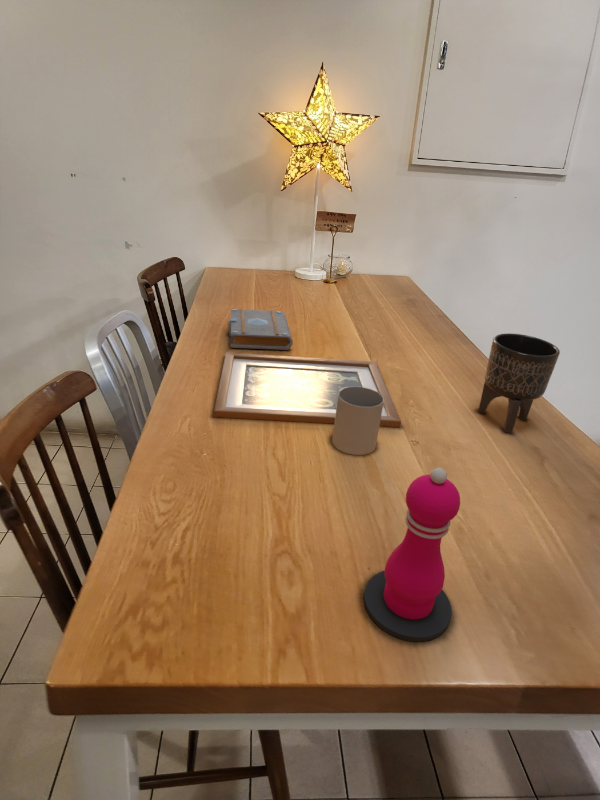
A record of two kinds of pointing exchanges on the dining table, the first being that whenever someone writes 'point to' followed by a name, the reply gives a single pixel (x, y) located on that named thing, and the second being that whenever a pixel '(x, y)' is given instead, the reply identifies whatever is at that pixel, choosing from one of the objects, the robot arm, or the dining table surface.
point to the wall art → (294, 388)
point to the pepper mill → (421, 546)
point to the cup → (357, 420)
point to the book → (259, 329)
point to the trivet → (403, 626)
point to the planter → (518, 373)
